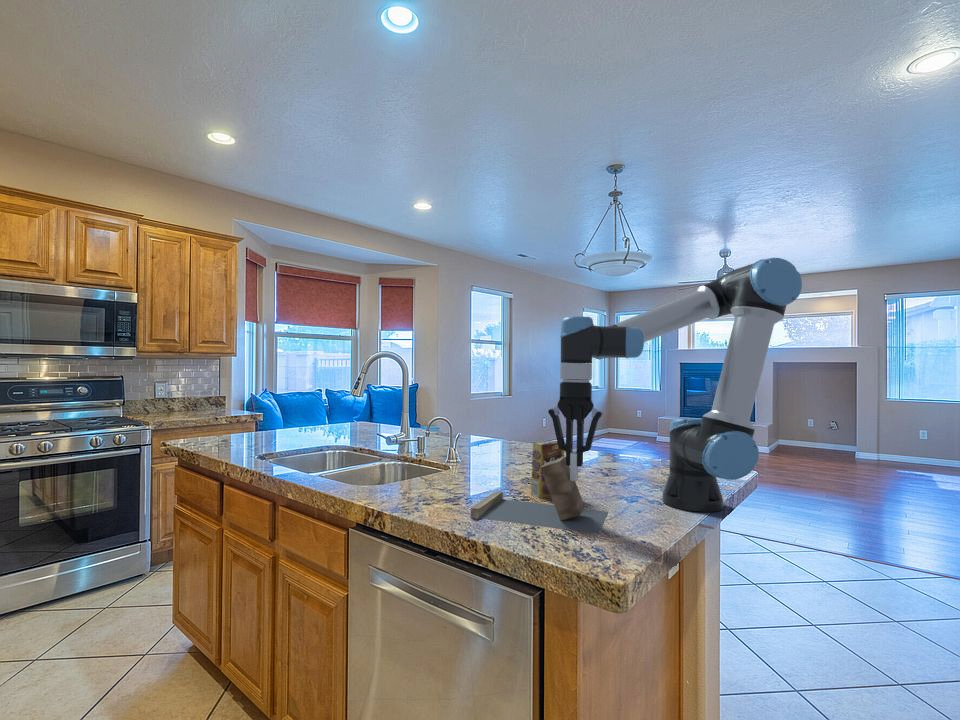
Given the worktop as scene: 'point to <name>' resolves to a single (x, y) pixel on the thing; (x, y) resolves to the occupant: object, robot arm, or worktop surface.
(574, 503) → the block
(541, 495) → the candy box
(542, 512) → the mat
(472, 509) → the lip
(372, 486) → the worktop surface
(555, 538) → the worktop surface
